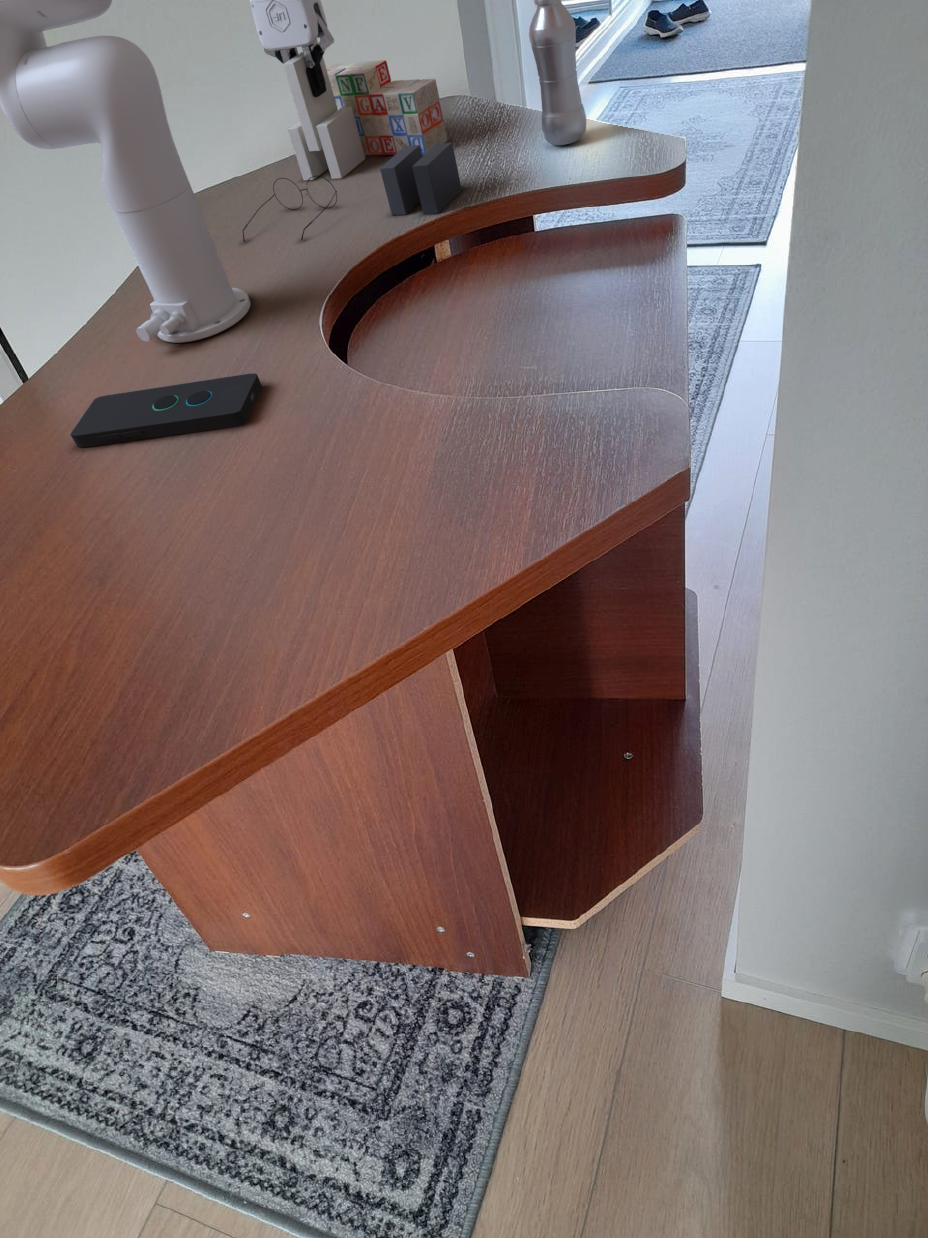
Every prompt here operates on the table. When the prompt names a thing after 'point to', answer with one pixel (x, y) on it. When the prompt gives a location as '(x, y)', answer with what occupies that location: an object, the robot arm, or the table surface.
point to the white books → (329, 146)
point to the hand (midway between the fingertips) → (312, 93)
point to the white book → (309, 99)
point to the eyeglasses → (299, 207)
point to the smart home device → (168, 410)
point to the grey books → (421, 179)
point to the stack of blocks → (388, 107)
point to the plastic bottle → (557, 72)
